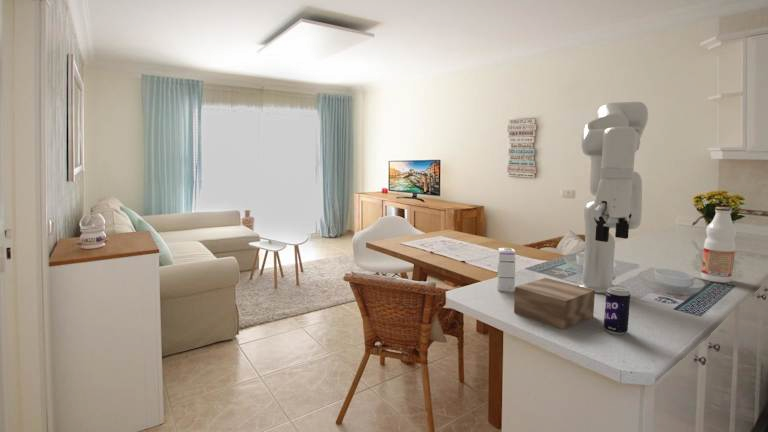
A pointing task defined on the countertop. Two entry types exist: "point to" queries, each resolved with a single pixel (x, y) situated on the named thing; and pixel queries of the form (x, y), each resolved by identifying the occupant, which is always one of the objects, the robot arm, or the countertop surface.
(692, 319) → the countertop surface
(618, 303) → the beverage can
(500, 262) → the syrup box
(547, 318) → the walnut block
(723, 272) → the fruit juice
